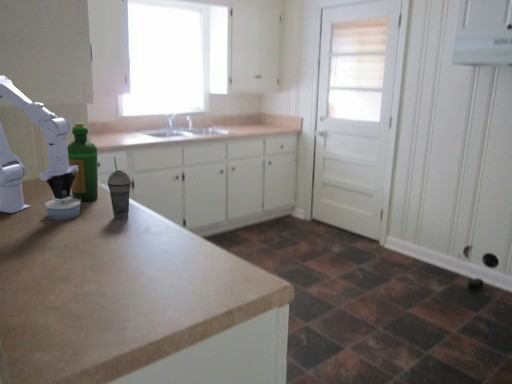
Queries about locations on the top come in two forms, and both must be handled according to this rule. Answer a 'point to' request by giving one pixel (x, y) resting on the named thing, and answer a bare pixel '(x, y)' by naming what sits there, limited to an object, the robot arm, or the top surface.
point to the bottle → (83, 165)
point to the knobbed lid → (63, 196)
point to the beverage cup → (119, 193)
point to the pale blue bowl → (63, 209)
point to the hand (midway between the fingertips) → (62, 197)
